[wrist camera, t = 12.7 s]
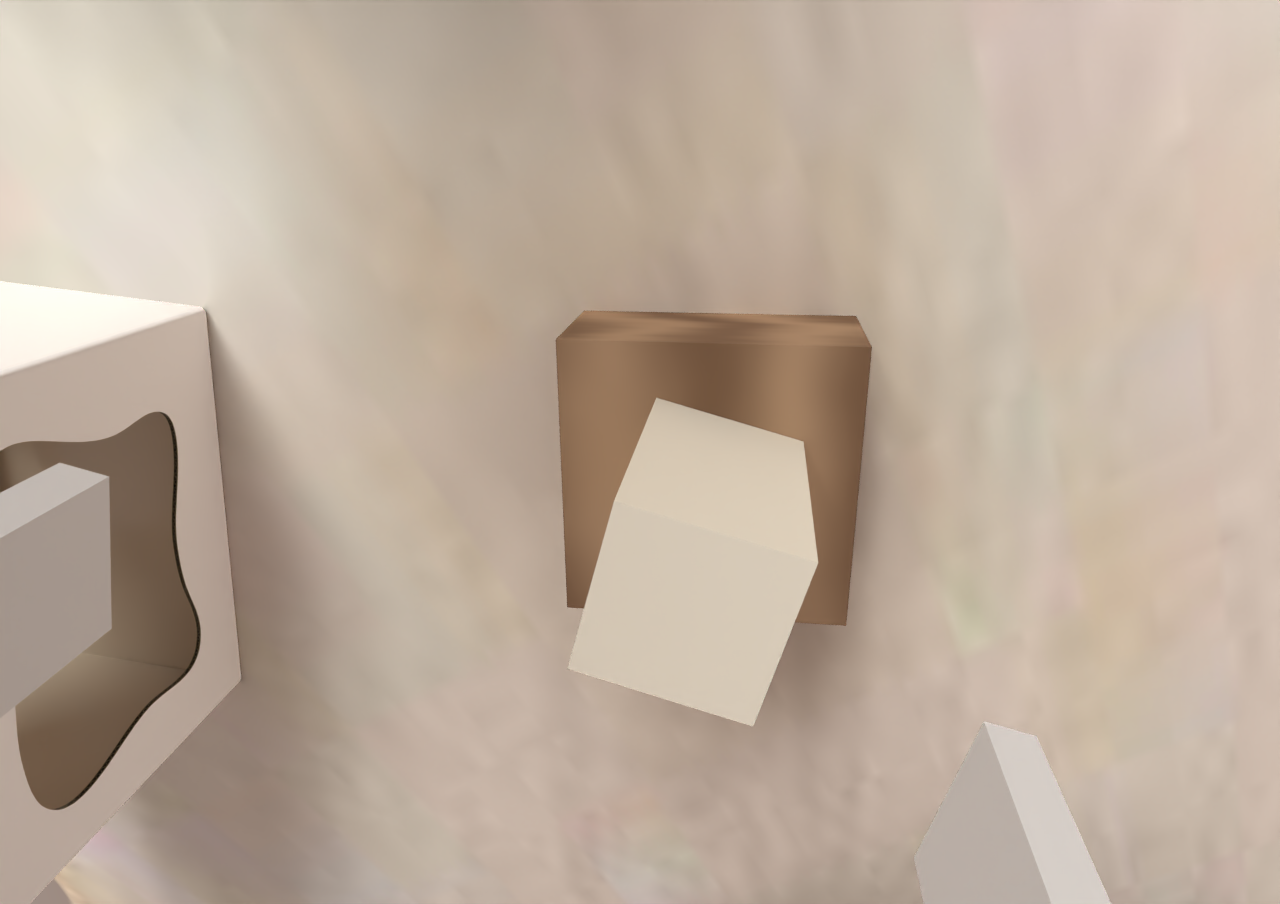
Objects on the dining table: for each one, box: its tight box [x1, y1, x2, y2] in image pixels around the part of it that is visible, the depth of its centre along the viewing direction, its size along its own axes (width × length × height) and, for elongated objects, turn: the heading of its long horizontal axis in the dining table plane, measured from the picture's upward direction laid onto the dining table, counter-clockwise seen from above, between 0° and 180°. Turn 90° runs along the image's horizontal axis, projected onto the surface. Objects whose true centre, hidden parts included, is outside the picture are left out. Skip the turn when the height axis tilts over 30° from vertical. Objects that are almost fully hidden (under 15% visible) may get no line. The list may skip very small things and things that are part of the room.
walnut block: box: [556, 311, 872, 626], centre depth 37 cm, size 12×12×6 cm
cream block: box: [567, 398, 818, 727], centre depth 30 cm, size 6×6×10 cm
